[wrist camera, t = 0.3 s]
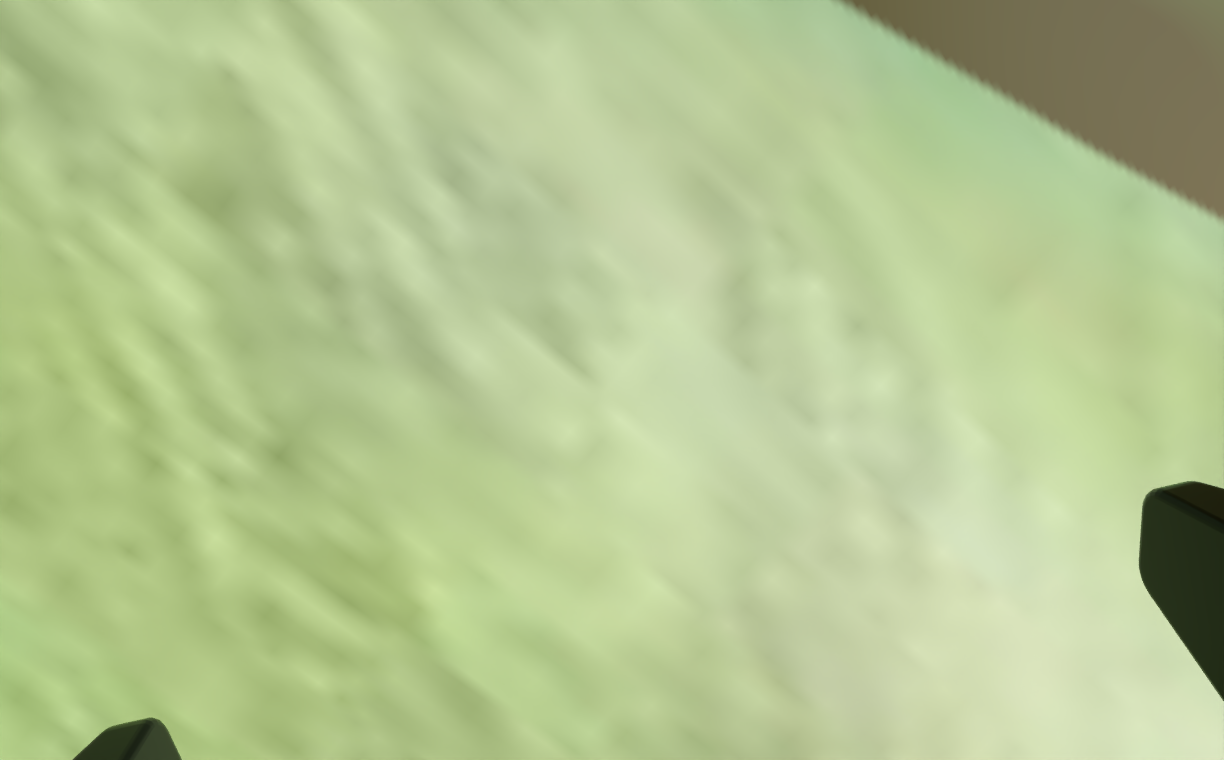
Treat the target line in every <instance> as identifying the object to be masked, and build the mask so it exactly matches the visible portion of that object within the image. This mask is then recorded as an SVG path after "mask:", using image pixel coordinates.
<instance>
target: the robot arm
mask: <svg viewBox="0 0 1224 760" xmlns="http://www.w3.org/2000/svg"><path fill="white" fill-rule="evenodd" d="M1139 569H1140V574H1141V578H1142V581H1143V583H1144V585H1145V587H1146V589H1147V591H1148V592H1149V594H1150V595H1151V597H1152V598H1153V600H1154V601H1155V603H1156V604H1157V606H1158V607H1159V608H1160V610H1161V611H1162V613H1163V614H1164V616H1165V617H1166V619H1167V620H1168V622H1169V623H1170V624H1171V626H1172V627H1173V629H1174V630H1175V632H1176V633H1177V635H1178V636H1179V637H1180V639H1181V640H1182V642H1183V643H1184V645H1185V646H1186V648H1187V649H1188V650H1189V652H1190V653H1191V655H1192V656H1193V658H1194V659H1195V661H1196V662H1197V663H1198V665H1199V666H1200V668H1201V669H1202V671H1203V672H1204V674H1205V675H1206V676H1207V678H1208V679H1209V681H1210V682H1211V684H1212V685H1213V687H1214V688H1215V689H1216V691H1217V692H1218V694H1219V695H1220V697H1221V698H1222V700H1223V701H1224V489H1223V488H1219V487H1215V486H1212V485H1208V484H1204V483H1201V482H1196V481H1187V482H1182V483H1178V484H1173V485H1169V486H1165V487H1160V488H1156V489H1153V490H1152V491H1150V492H1149V493H1148V494H1147V495H1146V497H1145V499H1144V501H1143V507H1142V520H1141V536H1140V551H1139ZM73 760H182V759H181V757H180V755H179V753H178V751H177V749H176V746H175V744H174V742H173V740H172V738H171V736H170V734H169V732H168V730H167V728H166V727H165V725H164V724H163V723H162V722H161V721H160V720H158V719H155V718H146V719H141V720H137V721H132V722H128V723H123V724H119V725H115V726H112V727H109V728H108V729H106V730H104V731H103V732H102V733H101V734H100V735H99V736H98V737H96V738H95V739H94V740H93V741H92V742H91V743H90V744H89V745H88V746H87V747H86V748H85V749H83V750H82V751H81V752H80V753H79V754H78V755H77V756H76V757H75V758H74V759H73Z"/></svg>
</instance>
